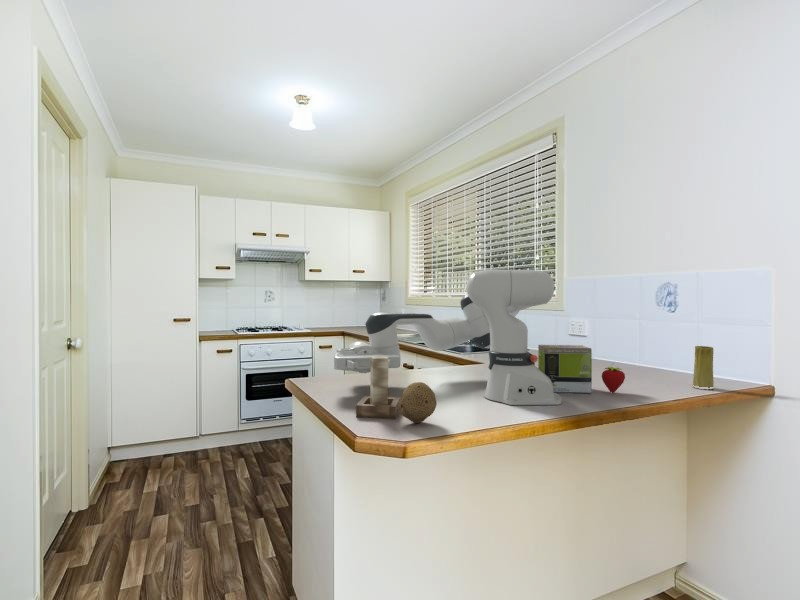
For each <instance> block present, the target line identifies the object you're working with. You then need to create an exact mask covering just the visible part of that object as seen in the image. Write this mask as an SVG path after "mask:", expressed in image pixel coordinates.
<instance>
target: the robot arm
mask: <svg viewBox="0 0 800 600" xmlns="http://www.w3.org/2000/svg"><path fill="white" fill-rule="evenodd" d="M466 293H467V294H466V295H464V296H463V297H462V298H461V300H460V302H459V303H460V307H461V310H462V312H463V315H464V318H465V319H464V318H463V317H452V318H444V319H440V320H439V319H435V318H434V317H433V316H432V314H428V313H389V312H385V311H384V312H383V311H381V312H374V313H373V314H371V315H369V316H368V318H367V320H366V321H365V324H364V325H365V329H366V333H367V335H368V341H369V344H368V343H367V342H365V341H360V340H359V341H353V342H351V343H350V344H349V345H347V347H345V348H338V349H336V352H335V353H334V356H333V369H334V370H335V371H348V372H349V371H351V372H356V373H360V374H367V373H368V374H369V373H371V356H386V357H387V358H388V369H398V368H400V367H401V350H400V344H399V340H398V334H397V326H403V325H404V326H405V325H406V326H407V325H408V326H413V327H414V328H415V329H416V332H417V333H418V335H419V336H420V338H421V341H422V342H423V343H424V345H425V346H426V347H427V348H429V349H430V350H432V351H434V352H435V351H436V352H440V351H446V350H449V349H453V348H456V347H458V346H460V345H462V344H464V343H465V342H467V341H471V342H470V344H471V345H473V346H474V345H475V346H476V347H478V348H479V349H480V348H481V349H489V350H488V355H487V367H488V374H487V375H488V376H487V383H486V387H485V390H484V395H483V396H484V398H485V399H487V400H491V401H493V402H498V403H499V402H500V403H504V404H506V405H510V406H514V405H515V406H531V405H532V406H533V405H534V406H535V405H536V406H537V405H539V406H540V405H541V406H542V405H543V406H546V405H548V406H549V405H550V406H552V405H555V406H556V405H557V406H558V405H561V404H562V403H563V402H562V401H563V399H562V397H561V396H560V395H559V394H557V393H556V392H554V389H553V384H552V381H551V380H550V378H549V377H548V376H547V375H545V374H544V373H543V372H542V371H541V370H539V369H538V367H537V366H536V365H535V366H534V365H533V364H534V362H535V363H538V362H537V361H538V355H535V354H532V353H531V352H528V341H529V339H528V336H529V335H528V334H529V330H528V326H527V325H526V323H525V322H524V321H522V320H521V319H519V318H517V317H516V316H517V315H518V314H519V312H520V311H523V310H526V309H529V308H531V307H536V306H541V305H546V304H548V303H549V302H550V301H551V299H552V298H553V296H554V293H555V283H554V280H553V278H552V276H551V275H550V274H549V273H548V272H544V271H539V270H535V269H483V270H479V271H474V272H472V274H471V275H470V276H469V278H468V279H467V282H466Z"/></svg>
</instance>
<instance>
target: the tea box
mask: <svg viewBox="0 0 800 600" xmlns="http://www.w3.org/2000/svg"><path fill="white" fill-rule="evenodd" d="M537 348H538V349H537V350H538V351H537V352H538V354H537V357H538V359H537V360H538V362H537V363H538V364H537V366H538V367H537V368H538V369H539V370H541V371H542V372H543V373H544V374H545V375H547V376H548V377H549V378H550V380H551V381H552V384H553V389H554V393H578V394H579V393H581V394H583V393H584V394H585V393H586V394H591V393H592V390H593V389H592V386H593V385H592V383H593V382H592V380H593V378H592V377H593V375H592V374H593V373H592V372H593V369H592V368H593V367H592V366H593V365H592V364H593V363H592V360H593V359H592V357H593V355H592V353H593V352H592V348H591V347H588V346H585V345H583V344H538V347H537Z"/></svg>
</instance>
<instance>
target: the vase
mask: <svg viewBox="0 0 800 600" xmlns="http://www.w3.org/2000/svg"><path fill="white" fill-rule="evenodd" d="M692 381H693V382H692V386H693V385H694V386H699V387H708V388H710V387H714V388H715V386H714V385H715V384H714V347H712V346H708V345H707V346H705V345H703V346H702V345H695V346H694V367H693V379H692Z"/></svg>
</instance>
